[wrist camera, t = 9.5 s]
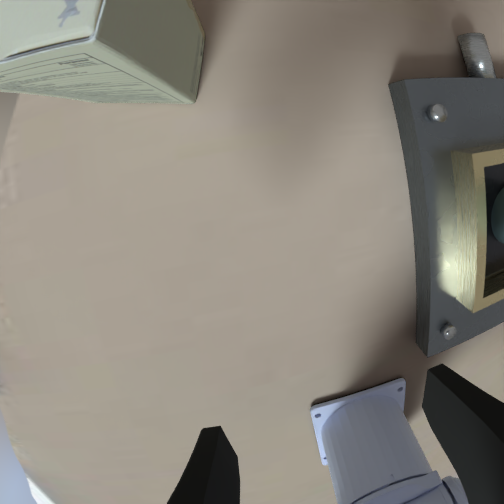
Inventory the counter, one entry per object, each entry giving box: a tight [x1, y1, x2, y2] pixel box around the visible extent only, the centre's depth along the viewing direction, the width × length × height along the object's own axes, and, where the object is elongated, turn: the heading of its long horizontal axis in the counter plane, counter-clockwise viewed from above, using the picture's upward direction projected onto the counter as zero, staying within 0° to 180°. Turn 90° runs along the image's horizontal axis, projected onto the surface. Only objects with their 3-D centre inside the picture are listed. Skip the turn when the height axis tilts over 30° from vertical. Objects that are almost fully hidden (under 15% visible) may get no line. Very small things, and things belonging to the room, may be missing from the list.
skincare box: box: [0, 0, 205, 104], centre depth 9 cm, size 6×4×12 cm
